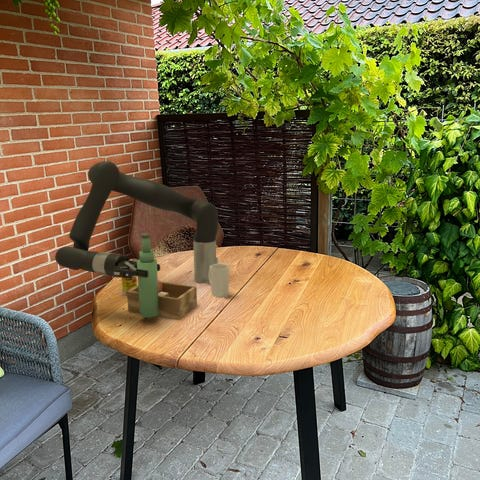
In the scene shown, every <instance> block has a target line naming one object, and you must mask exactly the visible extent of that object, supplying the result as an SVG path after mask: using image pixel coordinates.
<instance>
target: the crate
mask: <svg viewBox="0 0 480 480" xmlns="http://www.w3.org/2000/svg"><path fill="white" fill-rule="evenodd" d="M197 291H198V289H197V286H195V285H187V284H181V283H173V282H167V281H162V280H159V279H158V301H159V314H158V315H157V316H156V317H162V318H167V319H172V320H173V319H174V320H178V321H180V320H181V319H182V318H183V317H184V316H186V315H187V314H188V313H189V312H191V310H193V309H195V307H197V306H198V296H197V295H198V294H197V293H198V292H197ZM126 297H127V298H126V299H127V311H129V312H133V313H139V314H140V311H139V292H138V285H137V286H136V287H134V288H132V289H131V290H129V291H127V295H126Z"/></svg>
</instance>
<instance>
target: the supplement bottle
mask: <svg viewBox="0 0 480 480" xmlns="http://www.w3.org/2000/svg"><path fill="white" fill-rule="evenodd" d="M136 286H138V278H137V277H133V276H132V278H131V279H129V278H121V288H122V294H123V295H124V296H127V291H129V290H131V289H132V288H134V287H136Z"/></svg>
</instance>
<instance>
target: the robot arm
mask: <svg viewBox="0 0 480 480" xmlns="http://www.w3.org/2000/svg"><path fill="white" fill-rule="evenodd" d="M87 175H88V179H89V182H90V183H91V184H92V185H91V188H90V190H89V193H88V195H87V197H86V199H85V202H84V203H83V204H82V207H81V208H80V210H79V212H78V213H77V215H76V217H75V219H74V221H73V224H72V226H71V229H70V231H69V235H68V237H69V239H70V240H72V242H73V247H72V246H62V247H60V248H59V249H58V250H57V251H56V253H55V255H54V259H55V262H56V264H57V265H59V266H60V267H62V268H66V269H69V270H73V271H78V270H81V271H85V272H90V273H95V274H99V275H102V276H110V277H114V278H121V279H122V278H129V279H131V278H132V276H133V277H136V278H138V276H139V277H145V278H147V277H148V276H149V275H148V270H142V269H137V261H138V260H139V259H140V257H137V259H136V260H135V259H128V257H127V256H126V255H125V254H121V253H114V252H109V251H108V252H106V251H105V252H101V251H95V250H89V249H90V242H91V239H92V235H93V233H94V231H95V228H96V225H97V222H98V220H99V218H100V216H101V213H102V211H103V208H104V206H105V205H106V202H107V201H108V198H109V196H110V195H111V193H112V192H115V193H119V194H121V195H124V196H127V197H129V198H131V199H133V200H135V201H138V202H140V203H143V204H145V205H148V206H150V207H153V208H156V209H158V210H163V211H168V212H172V213H173V212H174V213H178V214H181V215H183V216H185V217H186V218H188V219H190V220H192V221H194V222H196V232H194V233H193V236H192V239H193V270H194V271H193V273H194V274H193V275H194V277H193V278H194V281H195V282H196V283H199V284H210V282H209V276H208V273H209V268H210V266H211V265H213V264H219V258H218V257H217V239H216V237H217V234H218V226H219V225H218V223H219V213H218V209H217V207H216V205H214V204H213V203H211V202H208V201H205V200H200V199H197V198H192V197H189V196H187V195H183V194H181V193H180V192H178V191H176V190H175V189H173V188H171V187H170V186H168V185H165V184H162V183H161V182H157V181H154V180H151V179H147V178H142V177H137V176H132V175H128V174H126V173H123V172H122V171H120V169H119V167H118V166H117V165H116V163H114V162H112V161H110V160H109V161H108V160H104V161H100V162H97V163H95V164H93V165H92V166H91V167H90V168H89V170H88V172H87ZM160 271H161V264H159V263H157V272H160Z"/></svg>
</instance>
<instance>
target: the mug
mask: <svg viewBox="0 0 480 480" xmlns="http://www.w3.org/2000/svg"><path fill="white" fill-rule="evenodd" d="M229 267H230V266H229V265H228V264H226V263H218V264H213V265H211V266H210V268H209V273H208V276H209V282H210V283H209V286H210V287H211V295H212V296H213V297H215V298H224V299H227V298H228V297H229V278H230V277H229V276H230V275H229V274H230V273H229V272H230V269H229Z"/></svg>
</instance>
